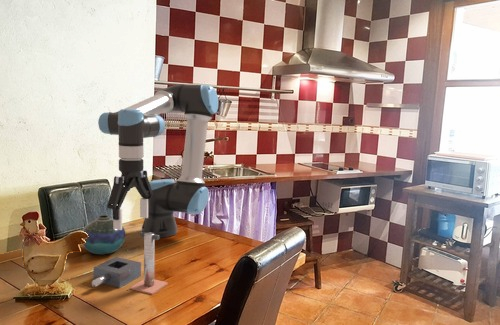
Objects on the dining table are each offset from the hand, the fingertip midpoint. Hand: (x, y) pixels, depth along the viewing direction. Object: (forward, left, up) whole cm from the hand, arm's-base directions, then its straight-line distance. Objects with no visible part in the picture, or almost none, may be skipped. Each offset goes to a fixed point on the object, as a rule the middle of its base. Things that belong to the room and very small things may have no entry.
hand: (131, 223), depth 128 cm
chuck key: (+7, +12, -16) cm, 21 cm away
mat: (+6, +12, -16) cm, 21 cm away
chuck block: (+9, 0, -16) cm, 19 cm away
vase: (-9, -20, -17) cm, 28 cm away
